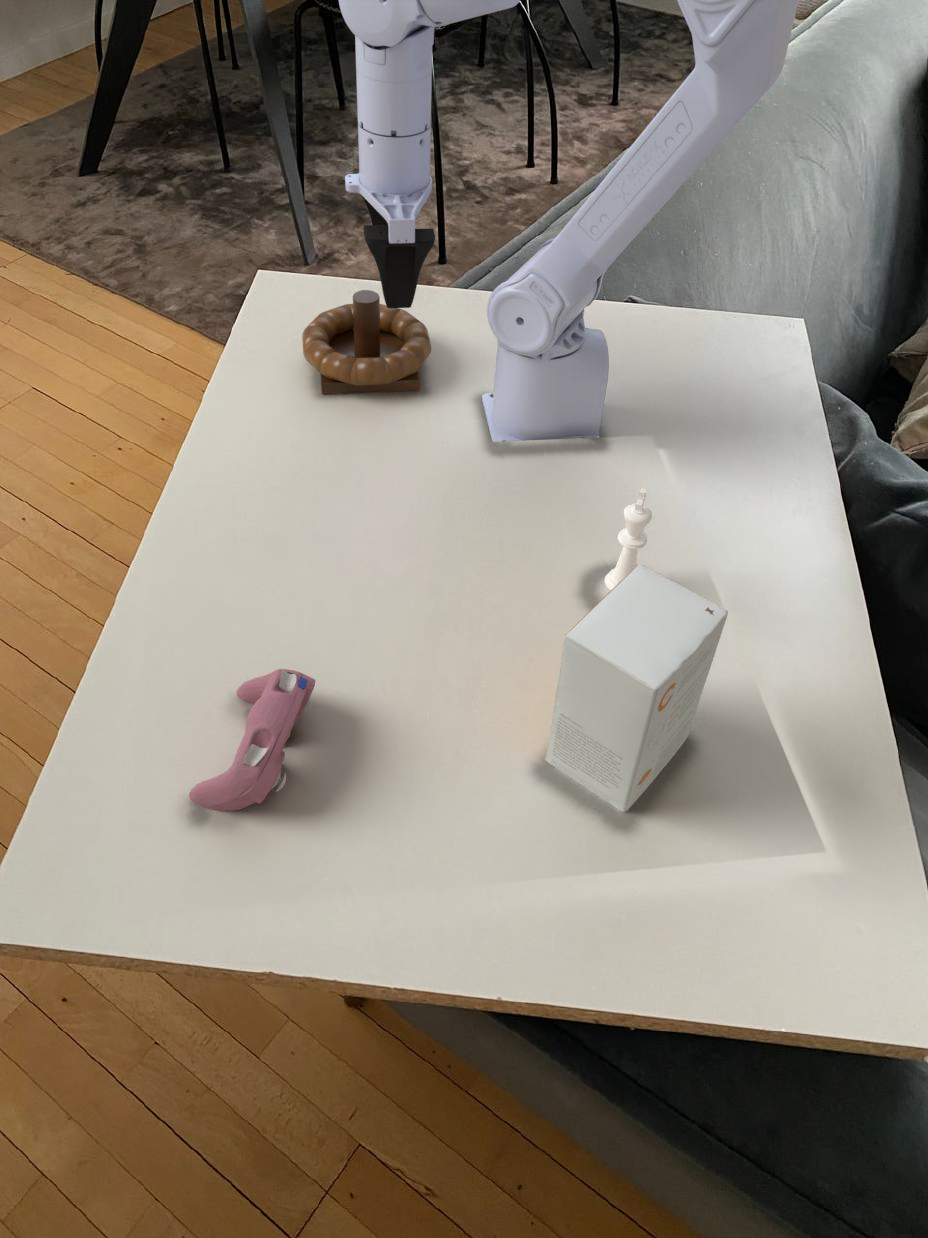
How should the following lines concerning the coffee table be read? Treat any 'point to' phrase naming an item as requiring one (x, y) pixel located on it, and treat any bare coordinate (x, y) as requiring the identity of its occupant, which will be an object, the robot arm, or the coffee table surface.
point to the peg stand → (367, 347)
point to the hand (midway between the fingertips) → (395, 283)
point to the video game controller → (259, 742)
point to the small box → (631, 684)
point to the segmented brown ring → (366, 368)
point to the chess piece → (630, 539)
